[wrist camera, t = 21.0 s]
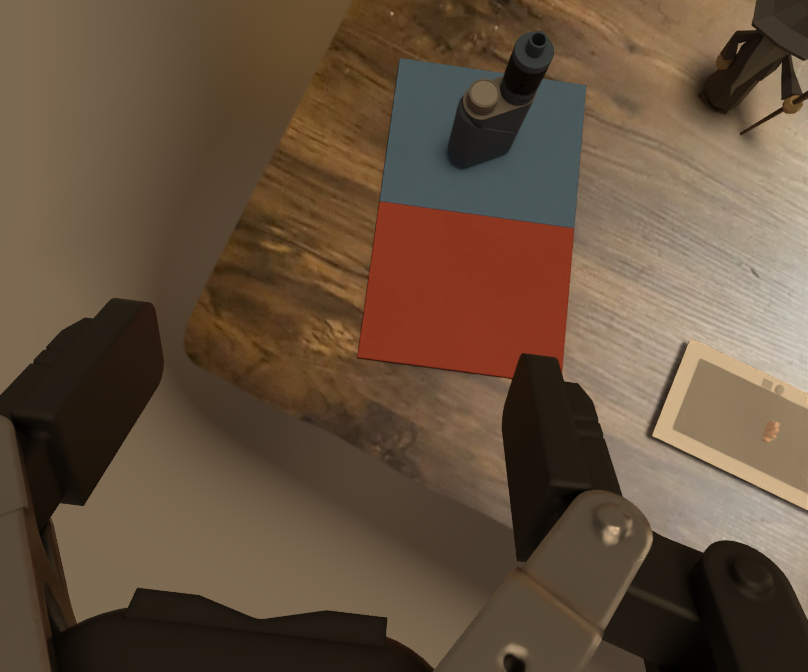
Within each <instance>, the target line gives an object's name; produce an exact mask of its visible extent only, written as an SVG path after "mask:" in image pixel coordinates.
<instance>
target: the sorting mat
mask: <svg viewBox="0 0 808 672" xmlns="http://www.w3.org/2000/svg"><path fill="white" fill-rule="evenodd" d="M504 74H505V73H499V72H492V71H485V70H478V69H471V68H464V67H457V66H451V65H444V64H437V63H430V62H423V61H416V60H409V59H403V58H400V60H399V67H398V74H397V82H396V89H395V96H394V103H393V110H392V117H391V124H390V131H389V138H388V145H387V152H386V159H385V166H384V173H383V180H382V187H381V194H380V202H379V209H378V216H377V223H376V230H375V237H374V244H373V251H372V258H371V265H370V272H369V279H368V286H367V293H366V300H365V307H364V314H363V321H362V329H361V336H360V343H359V350H358V358H361V359H369V360H377V361H384V362H392V363H399V364H407V365H414V366H422V367H430V368H437V369H445V370H452V371H460V372H467V373H475V374H483V375H490V376H498V377H505V378H513V376H514V372H515V369H516V366H517V363H518V360H519V357H520V355H521V354H522V353H527V354H535V355H543V356H550V357H556V358H557V359H558V361H559V364H560V368H561V372H562V367H563V355H564V343H565V331H566V319H567V308H568V296H569V284H570V272H571V260H572V248H573V236H574V225H575V213H576V201H577V189H578V177H579V165H580V153H581V142H582V130H583V118H584V106H585V94H586V85H581V84H574V83H567V82H560V81H554V80H547V79H542V82H541V84H540V86H539V88H538V90H537V94H536V98H535V99H534V101H533V103H532V105H531V107H530V109H529V111H528V113H527V115H526V117H525V119H524V121H523V123H522V125H521V127H520V130H519V132H518V134H517V136H516V138H515V140H514V142H513V144H512V146H511V148H510V150H509V152H508V153H507V154H505V155H503V156H500V157H497V158H494V159H491V160H488V161H485V162H483V163H480V164H477V165H474V166H471V167H468V168H461V167H459V166H457V165H456V164H454V162H453V161H452V159H451V158H450V156H449V152H448V143H449V139H450V135H451V131H452V127H453V123H454V119H455V115H456V111H457V107H458V103H459V101H460V99H461V98H462V96H463V95H464V93H465V91H466V90H467V89H468V88H470V86H471V84H472V83H473V82H474V81H476V80H478V79H482V78H486V79H490V80H493V79H496V78H499V77H502V76H504Z"/></svg>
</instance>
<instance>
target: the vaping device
mask: <svg viewBox="0 0 808 672" xmlns="http://www.w3.org/2000/svg"><path fill="white" fill-rule="evenodd" d="M553 55H554V48H553V45H552V43H551V41H550V40H549V39H548V38H547V35H546V34H545V33H543V32H541V31H535V32H529V33H526V34H524V35H522V36H521V37H520V38H518V40H517V41H516V43H515V46H514V49H513V52H512V54H511V57H510V60H509V63H508V65H507V68H506V71H505V74H504V76H502V77H499V78H496V79H493V80H490V79H486V78H482V79H478V80H476V81H474V82H473V83H472V84H471V86H470V88H468V89H467V90H466V91H465V93H464V95H463V96H462V98H461V99H460V101H459V103H458V107H457V111H456V115H455V119H454V123H453V127H452V131H451V135H450V139H449V143H448V152H449V156H450V158H451V159H452V161H453V162H454V164H456V165H457V166H459V167H461V168H468V167H471V166H474V165H477V164H480V163H483V162H485V161H488V160H491V159H494V158H497V157H500V156H503V155H505V154H507V153H508V152H509V150H510V148H511V146H512V144H513V142H514V140H515V138H516V136H517V134H518V132H519V130H520V127H521V125H522V123H523V121H524V119H525V117H526V115H527V113H528V111H529V109H530V107H531V105H532V103H533V101H534V99H535V98H536V94H537V90H538V88H539V86H540V84H541V82H542V79H543V77H544V75H545V73H546V71H547V69H548V67H549V65H550V63H551V61H552V58H553Z"/></svg>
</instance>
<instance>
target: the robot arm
mask: <svg viewBox="0 0 808 672" xmlns="http://www.w3.org/2000/svg"><path fill="white" fill-rule="evenodd" d="M163 359H164V358H163V352H162V346H161V340H160V335H159V328H158V322H157V317H156V311H155V308H154V306H153V304H151V303H150V302H142V301H134V300H127V299H119V298H113V299H111V300H110V301H109V302H108V303H107V304H106V305H105V306H104V307H103V309H102V310H101V311H100V312H99V313H98V314H97V315H96V316H95V317H94V318H93V319H92V318H83V319H82V320H80V321H78V322H76V323H75V324H73V325H71V326H69V327H67V328H65V329H64V330H62V331H61V332H60V333H59V334H58V335H57V336H56V337H55V338H54V339H53V340H52V341H51V343H50V344H48V346H47V347H46V350H43V351H42V352H41V353H40V354H39V355H38V356H37V357H36V358H35V359H34V363H33V364H30V365H29V366H28V367H27V368H26V369H25V370H24V371H23V372H22V373H21V374H20V375H19V376H18V377H17V378H16V379H15V380H14V381H13V382H12V384H11V385H10V386H9V387H8V388H7V389H6V390H5V391H4V392H3V393H2V394H1V395H0V672H584V670H585V669H586V667H587V665H588V663H589V661H590V660H591V658H592V656H593V654H594V652H595V651H596V648H597V647H598V645H599V643H600V641H601V639H602V640H604V641H606V642H609V643H611V644H613V645H615V646H617V647H619V648H622V649H624V650H626V651H628V652H630V653H633V654H635V655H637V656H639V657H641V658H643V659H644V663H645V668H646V672H808V620H807V618H806V616H805V613H804V611H803V609H802V607H801V605H800V603H799V601H798V598H797V596H796V594H795V592H794V590H793V588H792V586H791V584H790V582H789V580H788V579H787V577H786V576H785V575H784V573H783V572H782V571H781V570H780V569H779V567H778V566H777V565H776V564H775V563H774V562H772V561H771V560H770V559H769V558H768V557H766V556H765V555H764V554H762V553H761V552H759V551H757V550H756V549H754V548H752V547H750V546H748V545H745V544H742V543H739V542H735V541H728V540H725V541H718V542H714V543H713V544H711V545H710V546H709V547H708V548H707V549H706V550H705V552H704V553H702V552H700V551H697V550H695V549H692V548H690V547H687V546H685V545H682V544H680V543H678V542H675V541H673V540H670V539H668V538H665V537H663V536H661V535H659V534H657V533H656V532H654V531H652V530H651V527H650V524H649V522H648V520H647V519H646V517H645V516H644V514H643V513H642V512H641V511H640V510H639V509H638V508H637V507H636V506H635V505H634V504H633V503H631V502H630V501H628V500H627V499H625V498H623V496H622V493H621V490H620V486H619V483H618V480H617V477H616V474H615V471H614V467H613V464H612V461H611V458H610V455H609V451H608V448H607V445H606V442H605V439H603V432H602V429H601V426H600V423H598V416H597V413H596V410H595V407H594V404H593V401H592V400H591V398H590V397H589V396H588V395H587V394H586V392H585V391H584V390H583V389H582V388H581V386H580V385H579V384H578V383H572V382H564V379H563V376H562V372H561V368H560V364H559V361H558V359H557V358H556V357H550V356H543V355H535V354H527V353H522V354H521V355H520V357H519V360H518V363H517V366H516V369H515V372H514V376H513V379H512V382H511V385H510V388H509V392H508V395H507V398H506V401H505V405H504V410H503V416H502V435H503V444H504V453H505V461H506V470H507V479H508V487H509V496H510V504H511V513H512V522H513V530H514V538H515V547H516V556H517V561H521V562H526V563H525V564H524V565H523V567H521V568H519V567H516V568H515V569H514V570H513V571H512V572H511V573H510V574H509V575H508V576H507V578H506V579H505V580H504V581H503V583H502V584H501V585H500V587H499V588H498V589H497V590H496V592H495V593H494V594H493V596H492V597H491V598H490V599H489V601H488V602H487V603H486V605H485V606H484V607H483V608H482V610H481V611H480V612H479V613H478V615H477V616H476V617H475V618H474V620H473V621H472V622H471V624H470V625H469V626H468V627H467V629H466V630H465V631H464V633H463V634H462V635H461V636H460V638H459V639H458V640H457V641H456V643H455V644H454V645H453V647H452V648H451V649H450V650H449V652H448V653H447V654H446V656H445V657H444V658H443V659H442V661H441V662H440V663H439V664H438V666H437V667H436V668H435V669H434V668H432V667H431V666H430V665H429V664H428V663H427V662H426V661H425V660H424V659H423V658H422V657H421V656H419V655H418V654H417V653H415V652H414V651H413V650H411V649H410V648H408V647H406V646H405V645H403V644H401V643H399V642H398V641H396V640H393V639H391V638H388V637H386V627H387V618H386V617H378V616H369V615H360V614H353V613H344V612H336V611H327V610H326V611H318V612H311V613H304V614H297V615H290V616H283V617H275V618H268V619H256V618H253V617H250V616H248V615H245V614H243V613H241V612H238V611H236V610H234V609H231V608H229V607H226V606H224V605H222V604H219V603H217V602H214V601H212V600H210V599H207V598H205V597H202V596H200V595H194V594H185V593H177V592H168V591H160V590H151V589H143V588H137V589H136V591H135V593H134V596H133V598H132V600H131V602H130V604H129V606H128V608H123V609H118V610H114V611H110V612H106V613H103V614H100V615H97V616H94V617H91V618H89V619H86V620H84V621H82V622H80V623H78V624H77V622H76V619H75V616H74V614H73V610H72V606H71V603H70V599H69V594H68V590H67V585H66V580H65V576H64V571H63V567H62V562H61V557H60V552H59V548H58V543H57V539H56V534H55V530H54V525H53V522H52V520H51V516H52V514H53V513H54V511H55V510H56V508H57V507H58V505H59V504H60V503H63V504H71V505H79V506H84V505H85V503H86V501H87V500H88V498H89V497H90V495H91V493H92V491H93V490H94V488H95V487H96V485H97V483H98V482H99V480H100V479H101V477H102V476H103V474H104V472H105V471H106V469H107V467H108V466H109V464H110V463H111V461H112V460H113V458H114V456H115V455H116V453H117V452H118V450H119V448H120V447H121V445H122V443H123V442H124V440H125V439H126V437H127V435H128V433H129V432H130V431H131V429H132V427H133V426H134V424H135V423H136V421H137V419H138V418H139V416H140V415H141V413H142V411H143V410H144V408H145V406H146V405H147V403H148V402H149V400H150V398H151V397H152V395H153V394H154V392H155V390H156V389H157V387H158V385H159V383H160V381H161V377H162V373H163V367H164V360H163Z"/></svg>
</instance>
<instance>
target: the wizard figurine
mask: <svg viewBox="0 0 808 672" xmlns="http://www.w3.org/2000/svg"><path fill="white" fill-rule="evenodd" d="M752 26H753V27H754V28H755V29H757V30H748V31H736V32H735V34H734V35H733V36H732V37H731V39H730V40H729V42H728V43H727V44H726V46H725V47H724V49H723V50H722V51H721V53H720V54H721V55H719V56H718V58H717V60H716V66H717V68H718V70H717V71H716V72H715V73H713V74H712V75H711V76H710V77H709V78H707V82H706V87H705V88H704V89H703V90H702V92H701V93H700V94H699V96H700V98H701V99H702V101H703V102H704V104H705V103H706V102H707V101H708V100H711V102H712V104H713V106H716V107H717V109H716V112H720V113H724V114H727V113H728V112H729V111H730V110H731V109H733V108H734V107H736V106H737V105H739V103H740V102H741V101H742V100H743V99H744V98H745V97H746V96H747V95H748V93H749V92H750V91H751V90H752V89H753V88H754V87H755V86H756V84H757V83H758V82H759V81H762V80H763V79H764V78H766V77H767V76H768V75H769V74H771V73H772V72H773V71H775V70H776V69H777V68H778V67H779V65H780V64H781V63H782V75H781V100H784V99H785V100H784V102H783V107H781V108H780V109H778V110H776V111H775V112H773V113H772V114H770V115H768V116H767V117H765V118H763V119H762V120H760V121H759V122H757V123H755V124H754V125H752V126H750V127H749V128H747V129H745V130H744V131H742V132H741V133H740V135H742V134H744V133H746V132H747V131H749V130H751V129H753V128H755V127H756V126H758V125H760V124H762V123H764V122H766V121H767V120H769V119H771V118H773V117H775V116H776V115H778V114H780V113H782V112H784V113H787V114H794V113H796V112H798V111H799V110H800V109H801V107H802V106H803V101H804V100H806V99H808V91H807V92H805V93H804V94H802V91H801V88H800V86H799V83H798V80H797V77H796V75H795V72H794V69H793V63H792V58H791V55H793V56H795V57H797V58H799V59H801V60H803V61H805V60H807V59H808V0H756V6H755V12H754V17H753V21H752ZM742 42H746V43H744V44H743V45H742V46H741V48H740V50H739V52H738V53H737V54H736V52H737V47H738V43H742Z"/></svg>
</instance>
